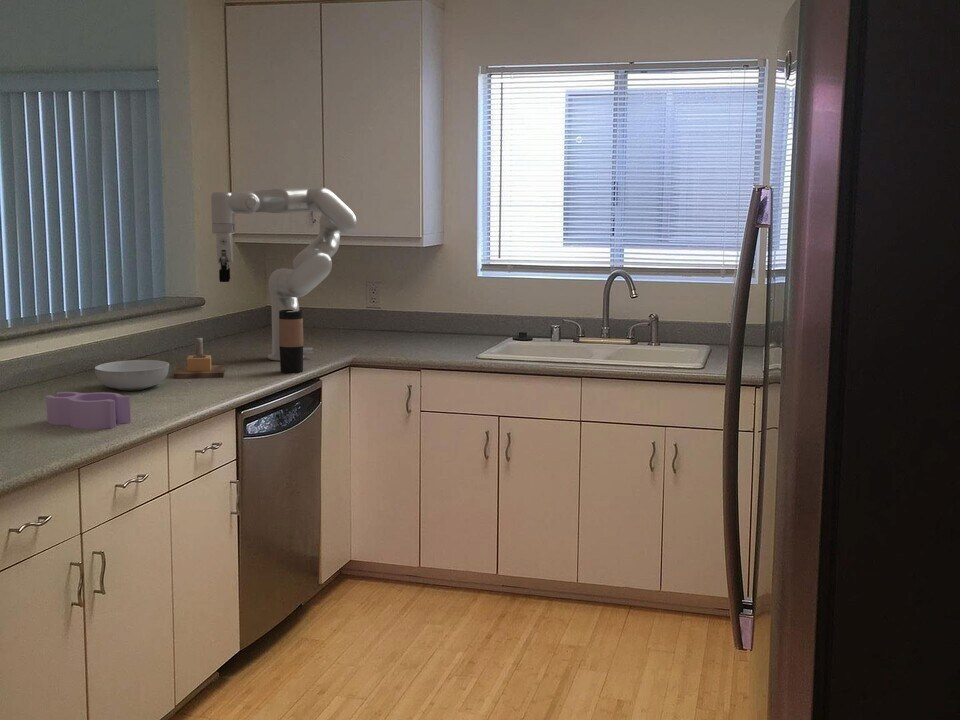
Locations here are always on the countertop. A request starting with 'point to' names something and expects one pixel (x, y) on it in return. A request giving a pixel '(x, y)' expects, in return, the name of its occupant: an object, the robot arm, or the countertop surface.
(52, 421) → the clip
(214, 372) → the post stand
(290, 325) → the travel mug
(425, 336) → the countertop surface
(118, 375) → the serving bowl
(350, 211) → the robot arm
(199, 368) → the collar
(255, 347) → the countertop surface
